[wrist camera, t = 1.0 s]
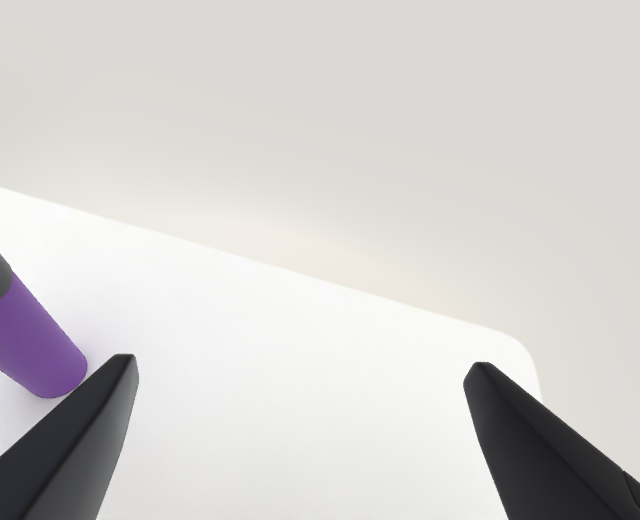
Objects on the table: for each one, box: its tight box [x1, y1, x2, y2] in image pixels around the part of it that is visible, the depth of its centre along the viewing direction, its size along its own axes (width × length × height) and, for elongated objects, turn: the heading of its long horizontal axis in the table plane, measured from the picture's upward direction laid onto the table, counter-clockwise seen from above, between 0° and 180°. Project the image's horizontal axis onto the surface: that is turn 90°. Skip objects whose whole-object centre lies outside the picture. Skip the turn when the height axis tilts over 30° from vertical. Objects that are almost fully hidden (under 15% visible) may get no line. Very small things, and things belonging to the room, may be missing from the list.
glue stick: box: [0, 254, 87, 398], centre depth 18 cm, size 3×3×12 cm
